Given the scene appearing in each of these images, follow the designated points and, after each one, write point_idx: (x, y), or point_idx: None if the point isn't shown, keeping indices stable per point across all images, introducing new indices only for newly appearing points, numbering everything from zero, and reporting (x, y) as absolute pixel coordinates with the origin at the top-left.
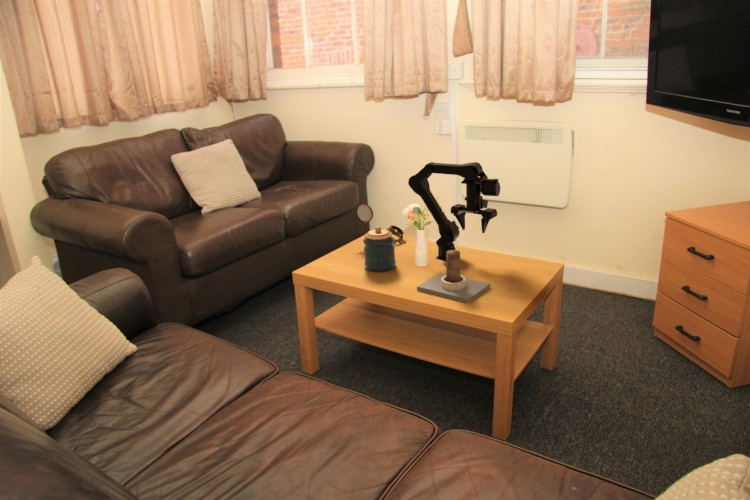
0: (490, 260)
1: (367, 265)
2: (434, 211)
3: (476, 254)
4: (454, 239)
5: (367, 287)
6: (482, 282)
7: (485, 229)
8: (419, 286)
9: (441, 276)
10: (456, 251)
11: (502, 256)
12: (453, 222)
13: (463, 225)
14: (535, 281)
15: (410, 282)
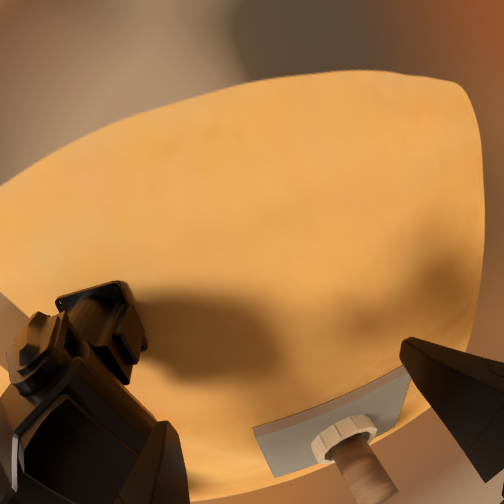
0: (296, 191)
1: None
2: None
3: (169, 172)
4: (143, 407)
5: None
6: (395, 380)
7: (440, 351)
8: (279, 475)
9: (280, 441)
10: (387, 497)
11: (305, 100)
12: (58, 482)
13: (178, 477)
14: (473, 247)
15: (226, 470)
